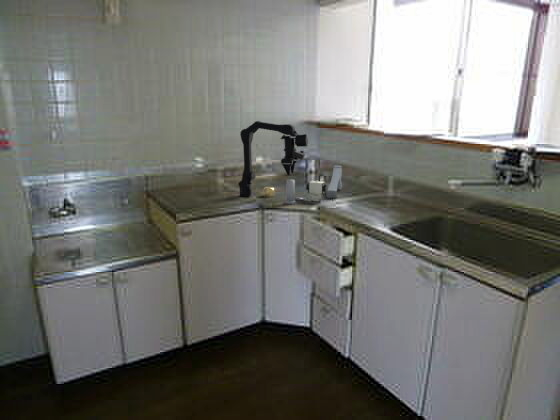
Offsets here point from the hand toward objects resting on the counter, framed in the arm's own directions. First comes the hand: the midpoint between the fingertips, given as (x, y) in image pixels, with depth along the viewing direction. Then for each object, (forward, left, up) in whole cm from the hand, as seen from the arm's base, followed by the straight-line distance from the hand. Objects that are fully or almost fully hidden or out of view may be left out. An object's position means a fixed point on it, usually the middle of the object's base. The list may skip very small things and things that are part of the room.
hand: (290, 174), depth 222 cm
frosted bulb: (+3, -12, -14) cm, 19 cm away
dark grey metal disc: (+6, -2, -14) cm, 16 cm away
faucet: (+24, +21, -15) cm, 35 cm away
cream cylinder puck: (-14, +4, -14) cm, 20 cm away
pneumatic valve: (+16, -2, -15) cm, 22 cm away
